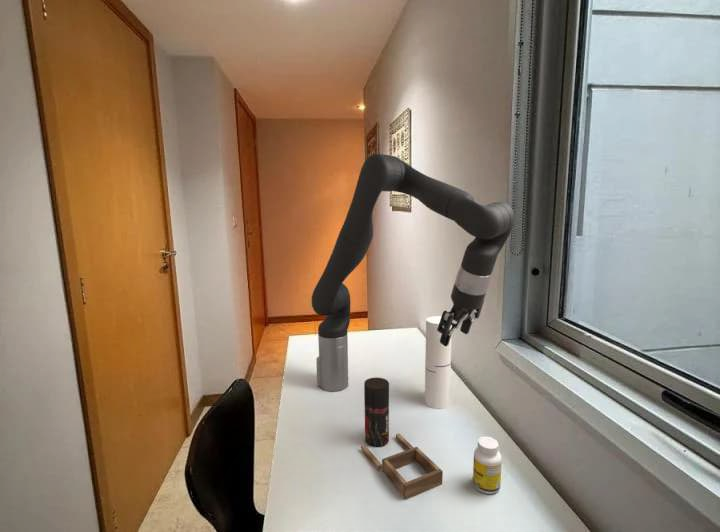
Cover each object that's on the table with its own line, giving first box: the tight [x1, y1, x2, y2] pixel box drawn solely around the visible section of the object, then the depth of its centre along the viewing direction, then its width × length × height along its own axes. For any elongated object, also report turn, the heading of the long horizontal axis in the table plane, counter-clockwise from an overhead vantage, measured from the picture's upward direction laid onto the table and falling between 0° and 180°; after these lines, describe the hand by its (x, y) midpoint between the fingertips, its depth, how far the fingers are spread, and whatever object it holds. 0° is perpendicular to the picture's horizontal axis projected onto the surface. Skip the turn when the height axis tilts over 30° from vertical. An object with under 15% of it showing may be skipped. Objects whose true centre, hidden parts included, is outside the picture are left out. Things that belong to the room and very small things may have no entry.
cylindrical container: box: [424, 315, 453, 410], centre depth 110 cm, size 7×7×25 cm
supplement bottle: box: [472, 436, 503, 495], centre depth 78 cm, size 5×5×10 cm
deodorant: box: [363, 377, 390, 448], centre depth 93 cm, size 6×6×15 cm
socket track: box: [360, 433, 444, 500], centre depth 85 cm, size 18×11×3 cm, turn 27°
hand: (454, 338), depth 98 cm, fingers open, 8 cm apart
